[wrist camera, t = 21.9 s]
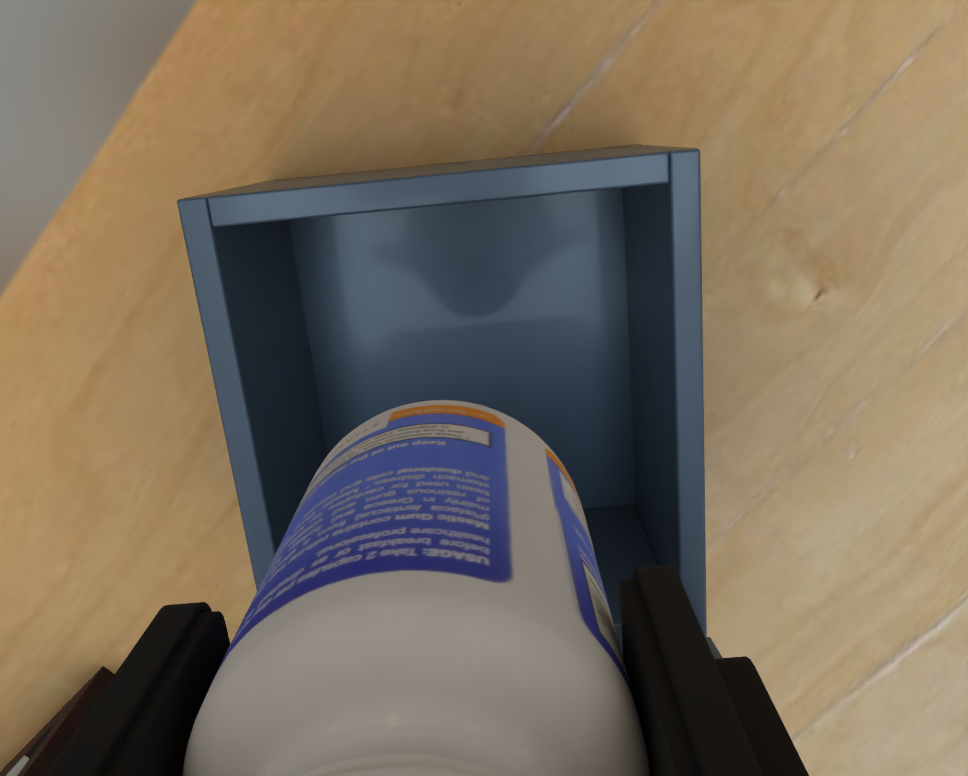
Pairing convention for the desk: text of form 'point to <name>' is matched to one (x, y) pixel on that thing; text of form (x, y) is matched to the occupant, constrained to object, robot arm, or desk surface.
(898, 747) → the desk surface
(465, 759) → the pill bottle
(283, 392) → the grey open box
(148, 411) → the desk surface
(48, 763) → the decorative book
